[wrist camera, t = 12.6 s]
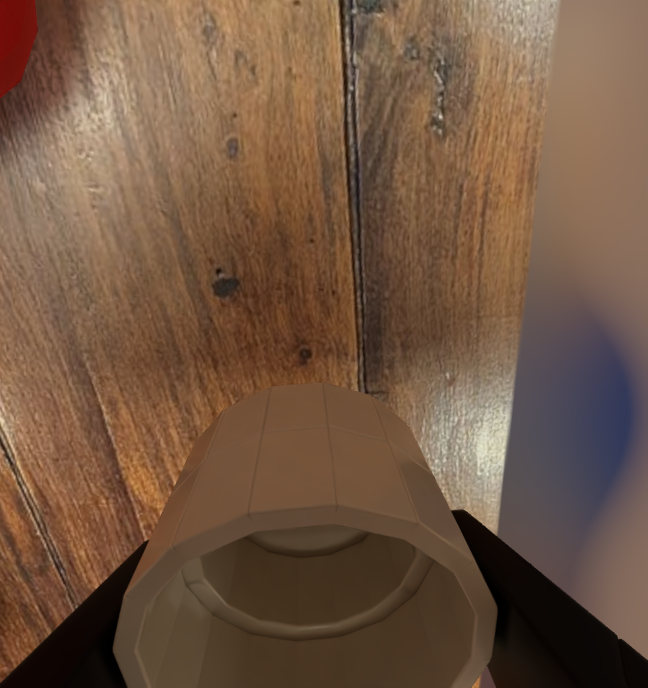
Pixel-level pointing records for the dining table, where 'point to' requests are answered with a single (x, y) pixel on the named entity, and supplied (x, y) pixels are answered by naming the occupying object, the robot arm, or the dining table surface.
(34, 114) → the dining table surface
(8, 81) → the tomato
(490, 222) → the dining table surface
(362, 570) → the bowl
